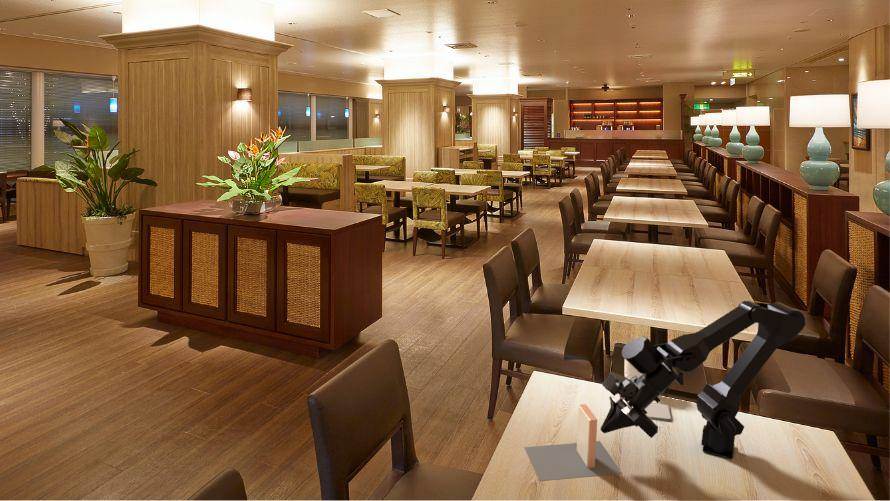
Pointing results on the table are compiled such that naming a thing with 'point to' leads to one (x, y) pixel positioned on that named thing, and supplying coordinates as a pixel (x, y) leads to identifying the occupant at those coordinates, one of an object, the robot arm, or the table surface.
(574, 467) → the rubber mat
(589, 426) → the terracotta tile
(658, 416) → the smartphone
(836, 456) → the table surface
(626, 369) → the white cup
